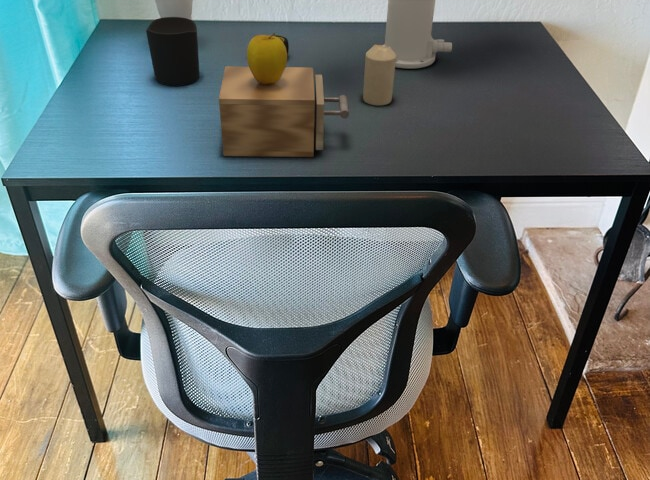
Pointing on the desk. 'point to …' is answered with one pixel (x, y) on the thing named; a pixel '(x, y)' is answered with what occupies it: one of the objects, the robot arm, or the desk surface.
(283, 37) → the tape measure
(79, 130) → the desk surface
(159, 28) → the pen holder
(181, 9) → the cup
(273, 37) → the apple
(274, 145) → the cabinet
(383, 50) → the candle
